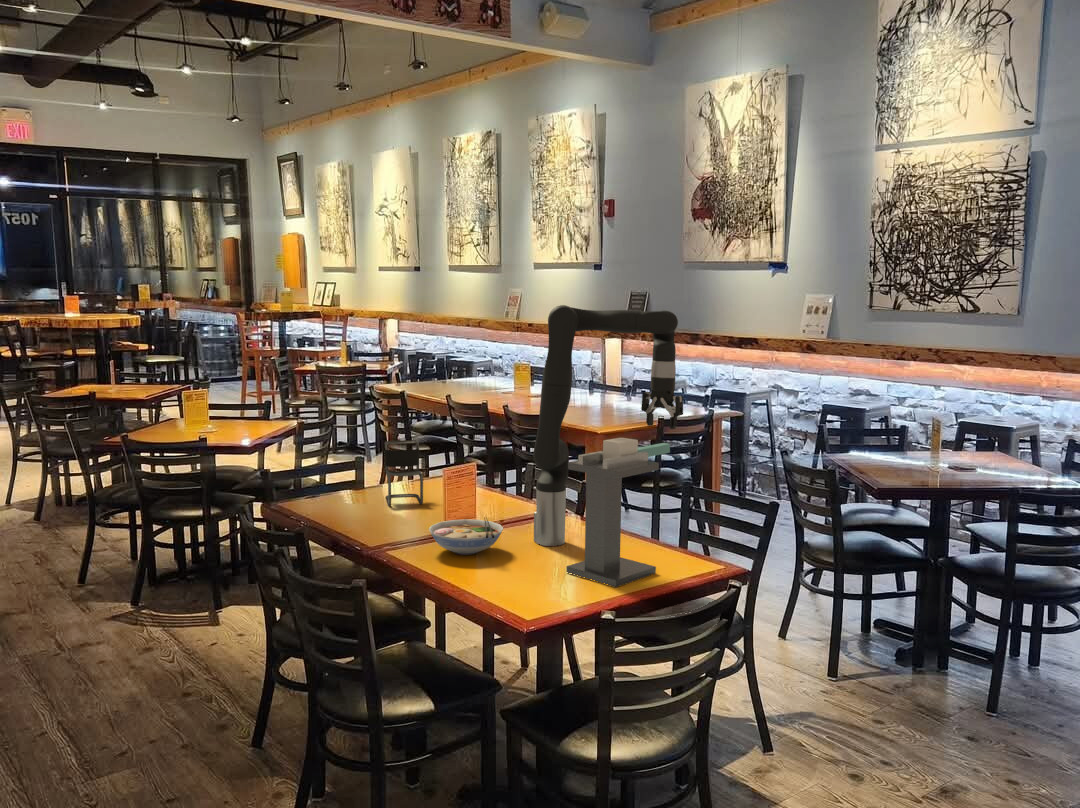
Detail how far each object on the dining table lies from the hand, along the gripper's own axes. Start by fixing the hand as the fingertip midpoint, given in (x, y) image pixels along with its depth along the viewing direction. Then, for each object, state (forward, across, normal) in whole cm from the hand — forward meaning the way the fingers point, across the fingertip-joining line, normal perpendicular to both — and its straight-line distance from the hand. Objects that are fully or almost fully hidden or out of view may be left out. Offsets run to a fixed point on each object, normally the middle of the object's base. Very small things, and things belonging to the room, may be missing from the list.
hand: (661, 427), depth 286 cm
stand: (+38, +8, -33) cm, 51 cm away
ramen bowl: (+38, -37, -48) cm, 72 cm away
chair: (+39, -104, -19) cm, 112 cm away
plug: (+6, +8, -22) cm, 24 cm away
